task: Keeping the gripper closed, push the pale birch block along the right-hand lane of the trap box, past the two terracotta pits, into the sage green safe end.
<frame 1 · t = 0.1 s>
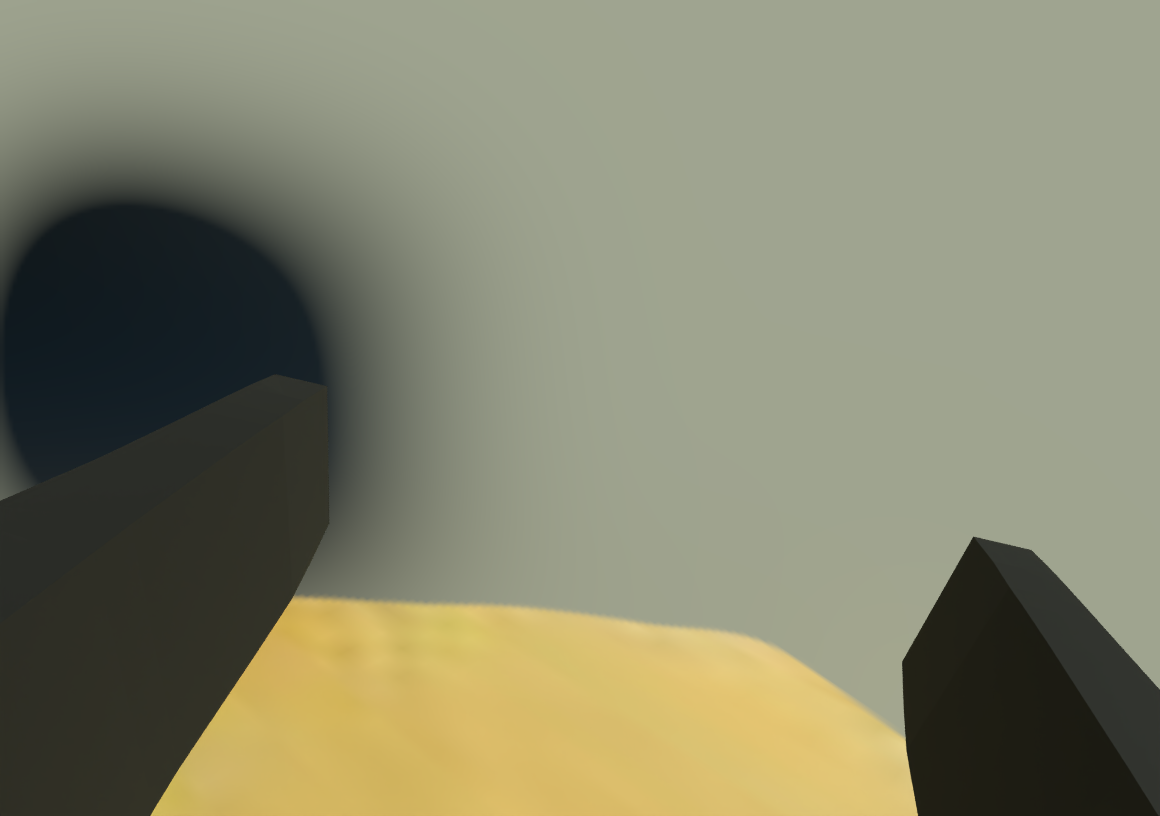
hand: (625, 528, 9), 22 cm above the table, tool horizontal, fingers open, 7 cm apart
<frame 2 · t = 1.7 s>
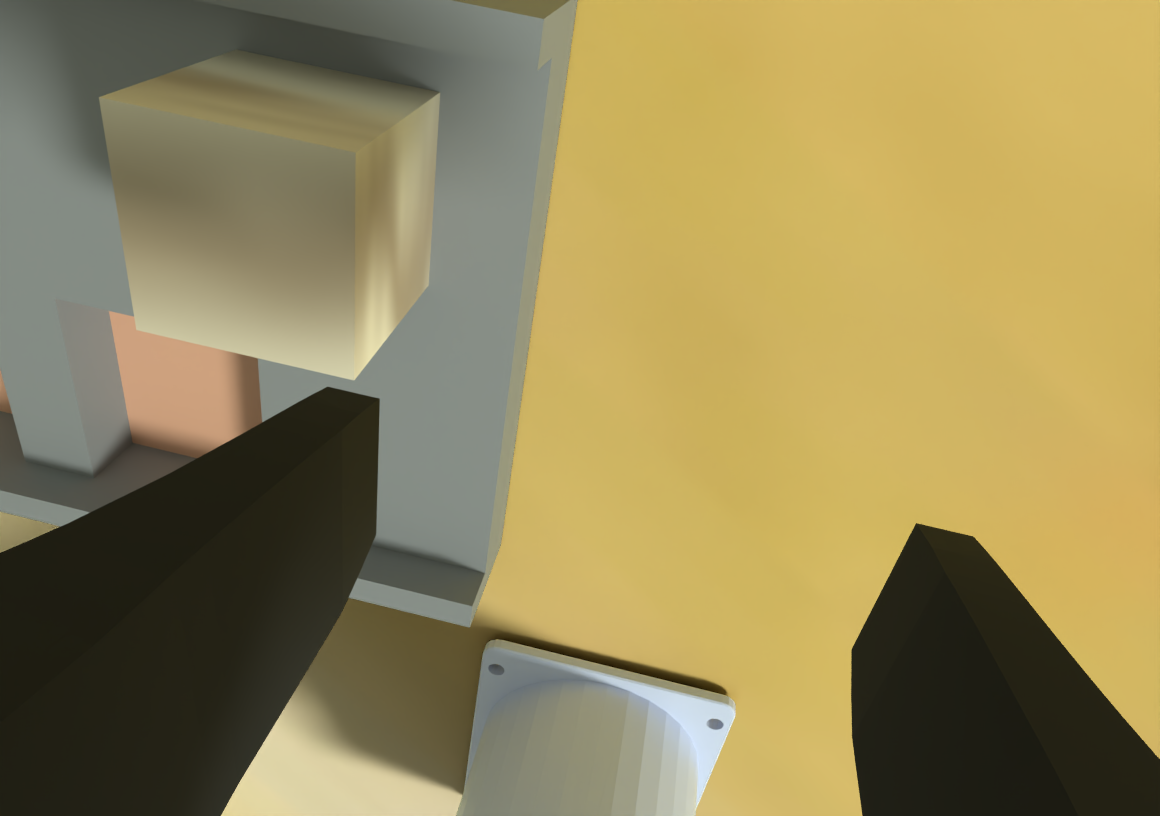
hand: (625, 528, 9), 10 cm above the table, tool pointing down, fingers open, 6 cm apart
birch block: (338, 174, 17), point 2 cm above the table, touching trap box
trap box: (27, 211, 21), on the table
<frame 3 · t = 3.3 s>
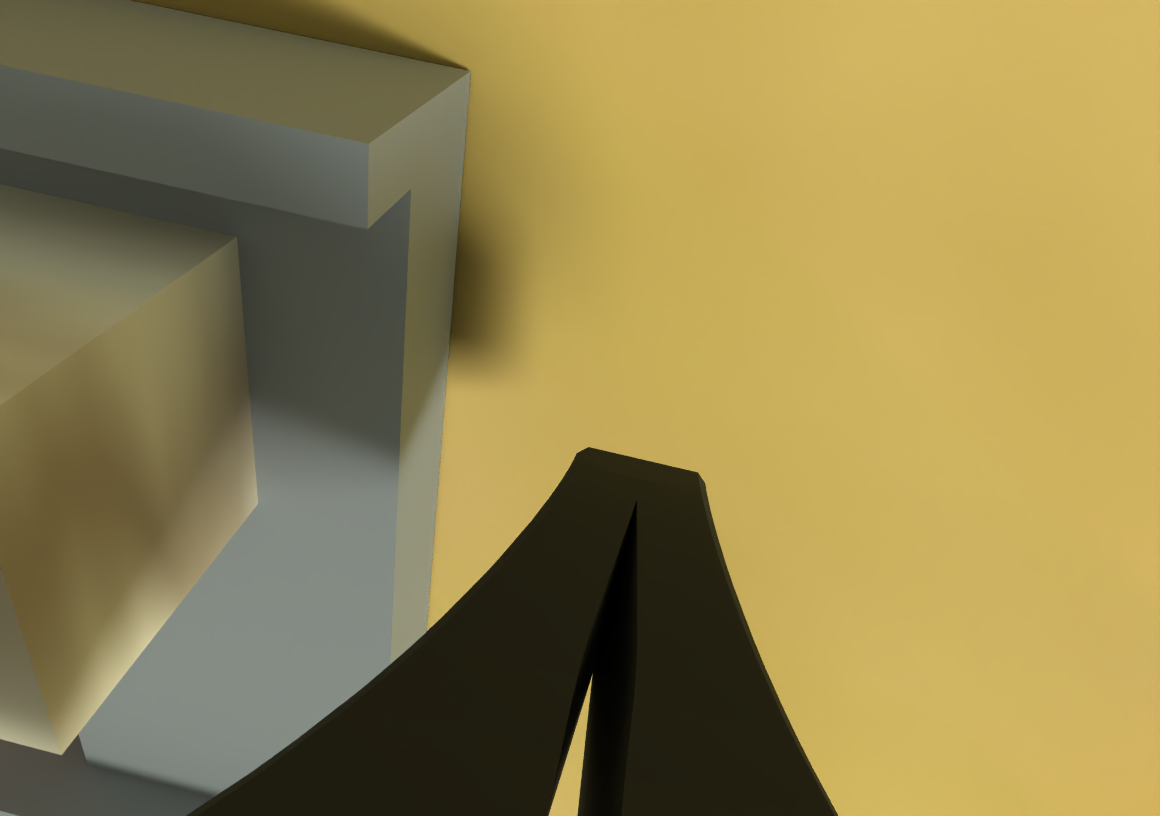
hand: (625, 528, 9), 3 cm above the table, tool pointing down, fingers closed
birch block: (99, 349, 11), point 2 cm above the table, touching trap box
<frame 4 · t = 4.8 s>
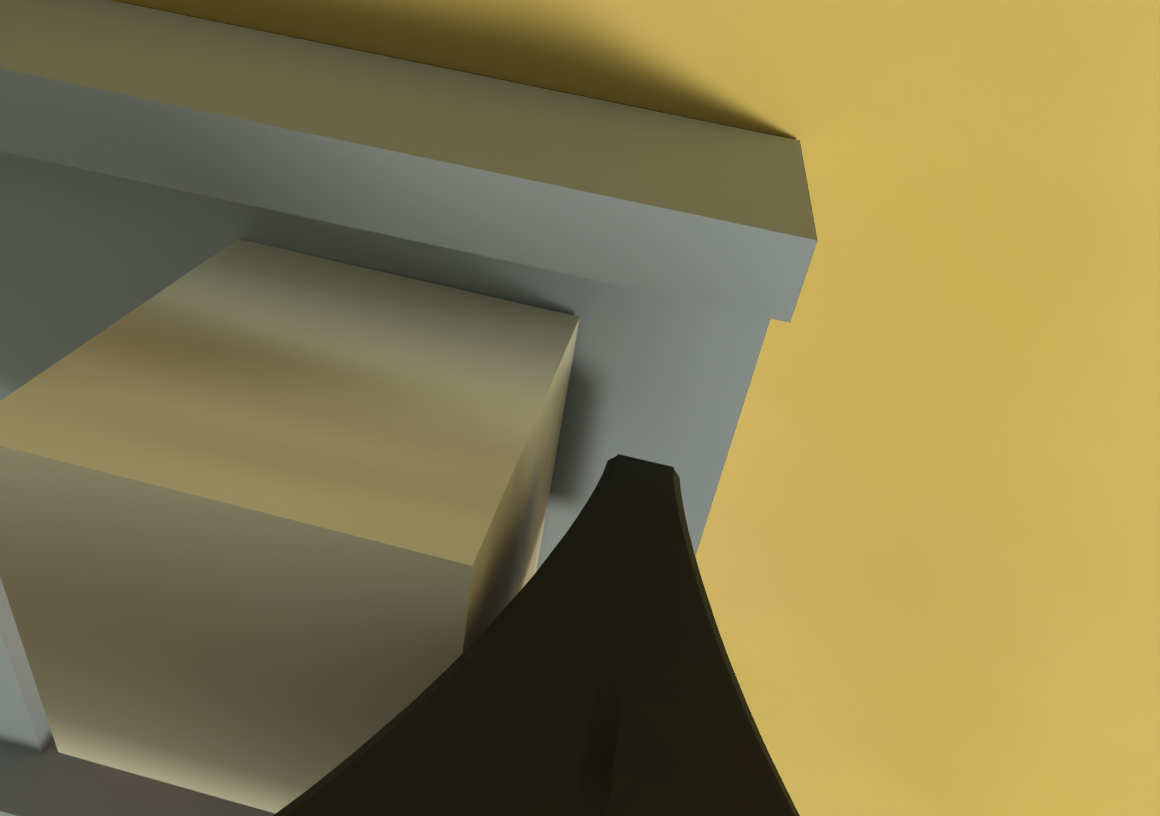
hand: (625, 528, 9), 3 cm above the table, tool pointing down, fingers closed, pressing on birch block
birch block: (400, 421, 10), point 2 cm above the table, touching gripper, trap box
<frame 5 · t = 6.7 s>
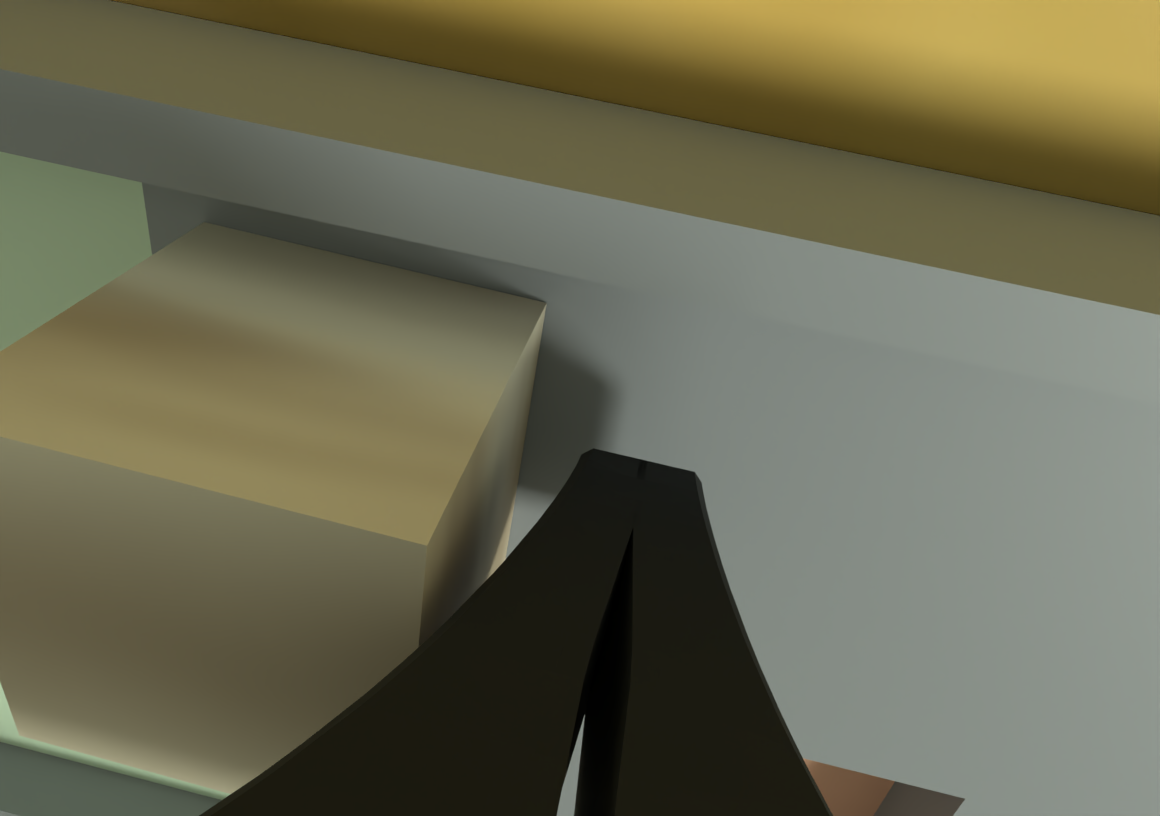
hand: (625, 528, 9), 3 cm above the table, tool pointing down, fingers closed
birch block: (369, 407, 10), point 2 cm above the table, touching gripper, trap box
trap box: (545, 550, 14), on the table
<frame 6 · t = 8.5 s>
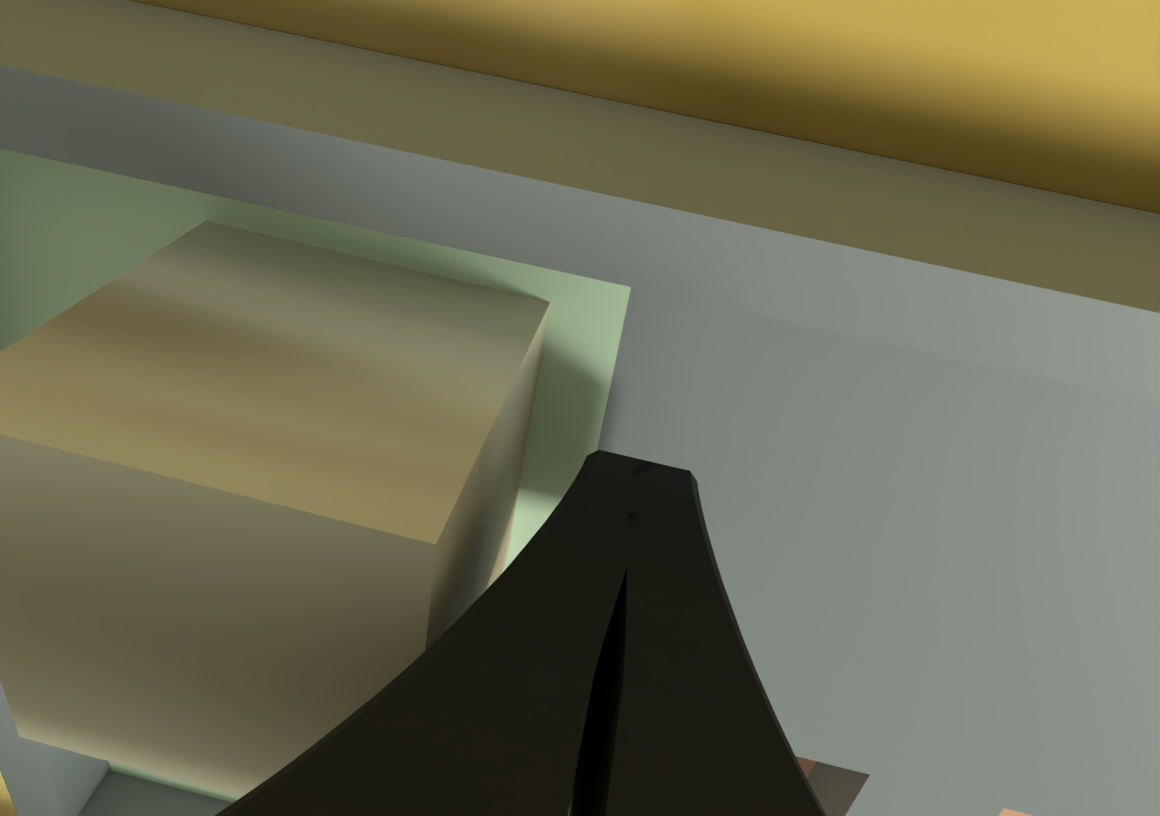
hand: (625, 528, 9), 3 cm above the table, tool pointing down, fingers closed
birch block: (370, 407, 10), point 2 cm above the table, touching gripper, trap box
trap box: (877, 629, 14), on the table
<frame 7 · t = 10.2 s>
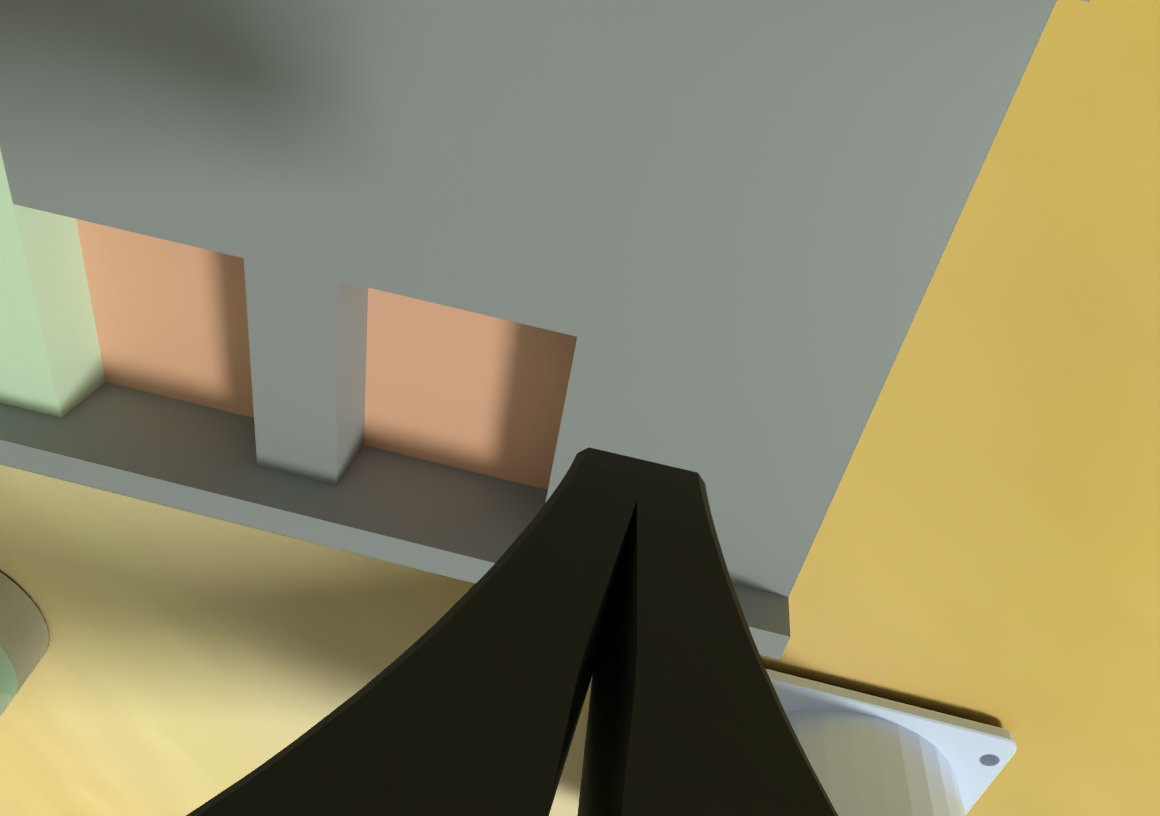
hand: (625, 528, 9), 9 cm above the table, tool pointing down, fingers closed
trap box: (287, 180, 18), on the table
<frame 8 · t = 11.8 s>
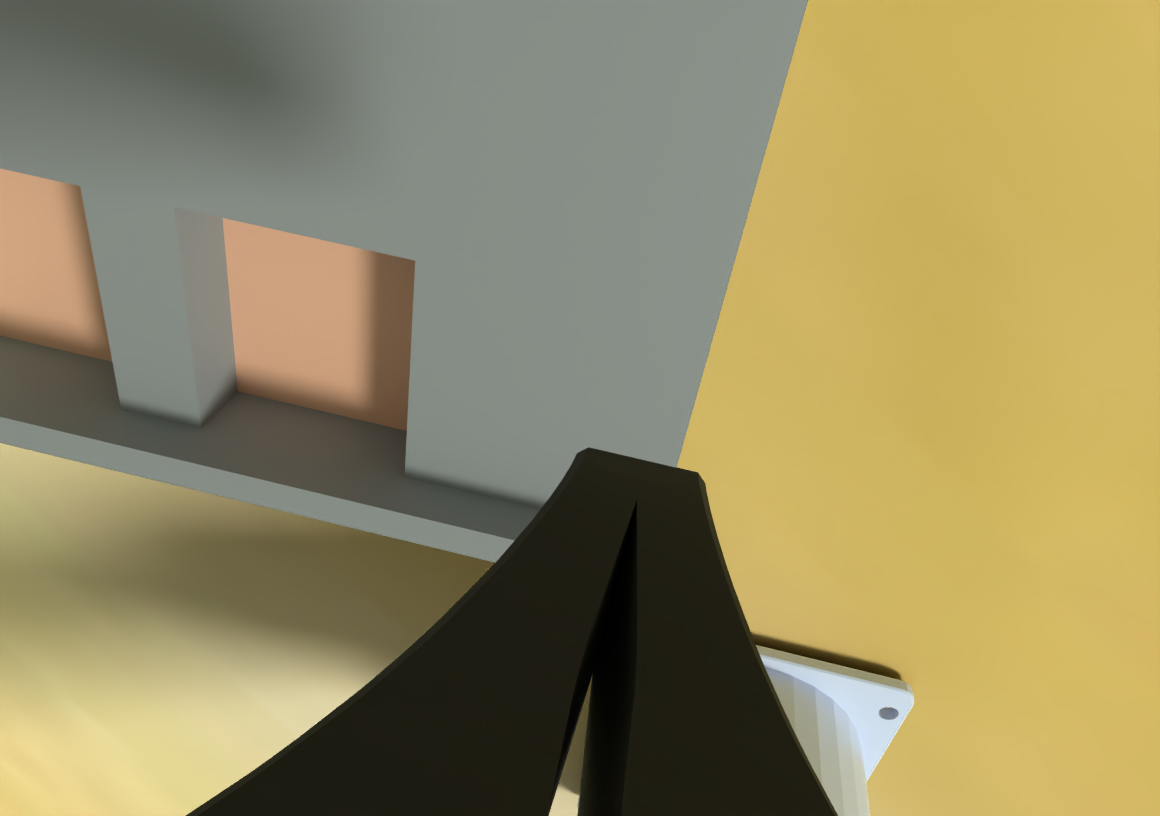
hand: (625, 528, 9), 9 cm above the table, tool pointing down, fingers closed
trap box: (134, 111, 18), on the table
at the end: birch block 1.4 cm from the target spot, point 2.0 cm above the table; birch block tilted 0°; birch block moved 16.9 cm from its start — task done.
